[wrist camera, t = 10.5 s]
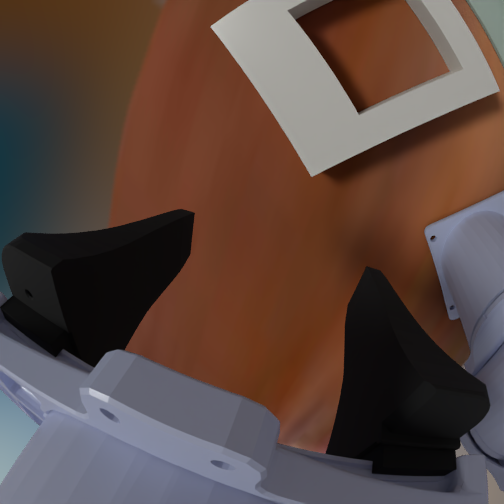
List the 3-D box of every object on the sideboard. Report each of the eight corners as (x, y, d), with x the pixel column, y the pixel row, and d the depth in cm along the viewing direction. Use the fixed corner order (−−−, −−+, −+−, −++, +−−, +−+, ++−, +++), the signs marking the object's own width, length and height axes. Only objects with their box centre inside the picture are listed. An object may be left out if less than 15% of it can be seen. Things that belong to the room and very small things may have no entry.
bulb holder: (484, 90, 13) (499, 90, 11) (315, 167, 20) (311, 176, 18) (392, -50, 10) (396, -65, 8) (225, 33, 17) (210, 26, 15)
